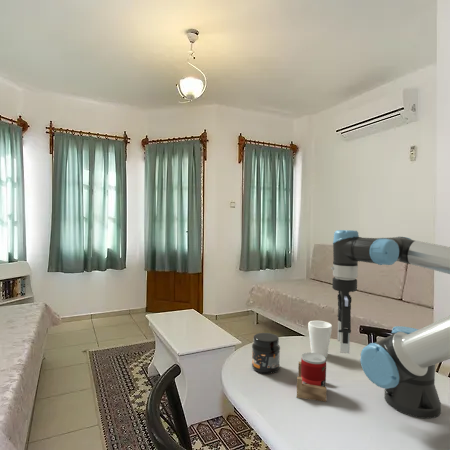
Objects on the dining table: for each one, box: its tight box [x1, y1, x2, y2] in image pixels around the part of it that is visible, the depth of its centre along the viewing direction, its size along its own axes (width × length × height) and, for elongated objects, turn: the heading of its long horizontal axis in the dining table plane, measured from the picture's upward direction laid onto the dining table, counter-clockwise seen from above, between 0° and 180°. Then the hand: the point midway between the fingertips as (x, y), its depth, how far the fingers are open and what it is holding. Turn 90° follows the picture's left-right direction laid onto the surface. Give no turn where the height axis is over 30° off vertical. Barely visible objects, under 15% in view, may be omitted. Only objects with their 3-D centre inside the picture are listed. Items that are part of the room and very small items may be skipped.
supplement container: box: [251, 332, 281, 375], centre depth 124 cm, size 10×10×12 cm
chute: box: [296, 361, 327, 403], centre depth 109 cm, size 9×13×6 cm
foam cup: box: [307, 320, 333, 358], centre depth 136 cm, size 10×9×13 cm
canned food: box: [300, 352, 327, 388], centre depth 109 cm, size 8×8×11 cm
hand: (343, 346), depth 106 cm, fingers open, 9 cm apart
